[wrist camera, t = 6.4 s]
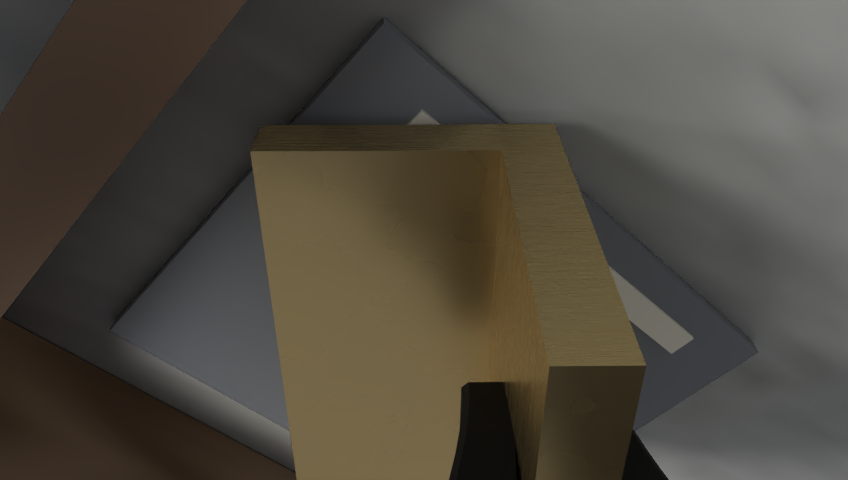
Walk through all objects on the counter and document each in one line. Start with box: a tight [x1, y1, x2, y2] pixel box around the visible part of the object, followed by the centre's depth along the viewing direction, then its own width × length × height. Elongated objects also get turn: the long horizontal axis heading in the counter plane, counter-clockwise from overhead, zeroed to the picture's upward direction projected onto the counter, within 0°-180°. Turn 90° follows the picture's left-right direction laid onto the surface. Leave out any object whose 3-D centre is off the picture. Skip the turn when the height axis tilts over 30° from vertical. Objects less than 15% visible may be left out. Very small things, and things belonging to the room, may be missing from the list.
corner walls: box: [0, 0, 297, 480], centre depth 14 cm, size 14×14×4 cm
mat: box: [110, 18, 758, 431], centre depth 16 cm, size 11×9×1 cm
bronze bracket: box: [250, 124, 646, 480], centre depth 12 cm, size 8×5×6 cm, turn 0°
